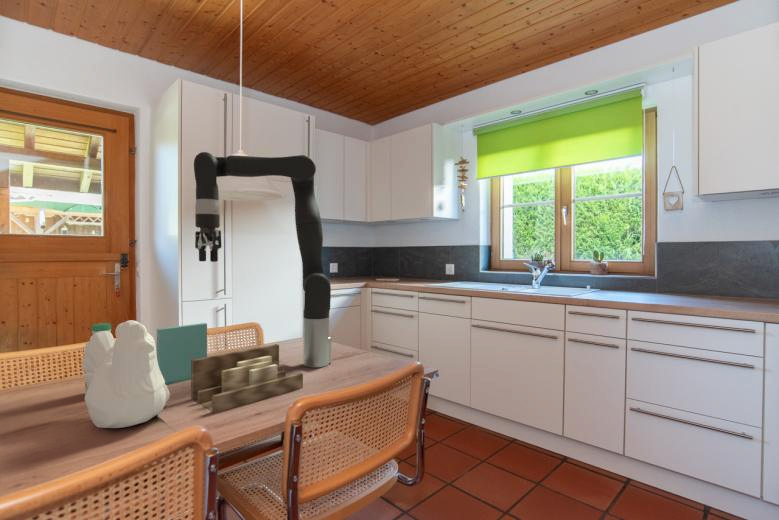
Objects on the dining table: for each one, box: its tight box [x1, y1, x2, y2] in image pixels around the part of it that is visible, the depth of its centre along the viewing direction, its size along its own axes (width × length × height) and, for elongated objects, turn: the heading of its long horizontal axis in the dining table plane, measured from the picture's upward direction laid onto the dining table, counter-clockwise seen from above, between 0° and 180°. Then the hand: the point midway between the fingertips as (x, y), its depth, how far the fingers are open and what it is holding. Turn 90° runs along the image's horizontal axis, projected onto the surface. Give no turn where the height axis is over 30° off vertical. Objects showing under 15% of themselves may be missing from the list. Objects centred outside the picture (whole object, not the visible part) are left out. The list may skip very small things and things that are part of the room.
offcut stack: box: [222, 356, 277, 393], centre depth 114 cm, size 15×4×9 cm, turn 138°
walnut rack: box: [190, 343, 304, 414], centre depth 115 cm, size 26×14×12 cm, turn 138°
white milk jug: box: [81, 319, 171, 429], centre depth 100 cm, size 25×16×25 cm, turn 54°
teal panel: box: [156, 322, 208, 386], centre depth 126 cm, size 14×2×18 cm, turn 138°
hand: (208, 261), depth 139 cm, fingers open, 8 cm apart
